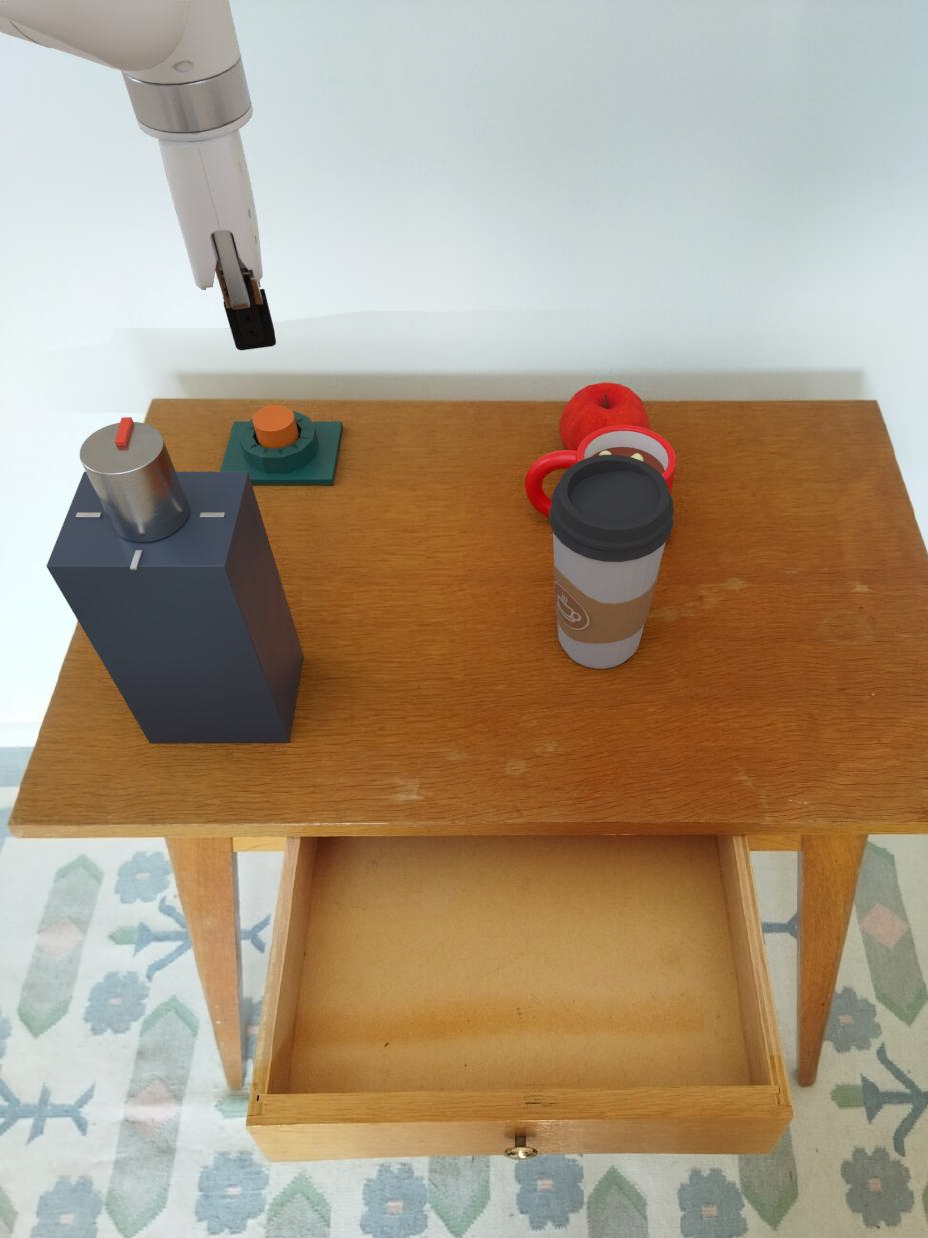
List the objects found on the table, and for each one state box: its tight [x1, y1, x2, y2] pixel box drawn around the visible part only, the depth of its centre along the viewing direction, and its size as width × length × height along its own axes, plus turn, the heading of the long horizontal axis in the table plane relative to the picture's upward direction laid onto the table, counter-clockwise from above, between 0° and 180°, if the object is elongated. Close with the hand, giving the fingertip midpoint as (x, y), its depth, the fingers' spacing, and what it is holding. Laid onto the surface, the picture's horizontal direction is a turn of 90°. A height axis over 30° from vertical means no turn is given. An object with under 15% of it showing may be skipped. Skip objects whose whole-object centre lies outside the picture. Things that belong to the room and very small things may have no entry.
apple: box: [558, 381, 651, 451], centre depth 83 cm, size 8×8×7 cm
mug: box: [524, 425, 677, 518], centre depth 78 cm, size 8×12×8 cm, turn 85°
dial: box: [79, 416, 189, 542], centre depth 53 cm, size 4×4×5 cm
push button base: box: [219, 410, 344, 486], centre depth 85 cm, size 10×8×2 cm
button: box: [252, 404, 299, 448], centre depth 83 cm, size 4×4×2 cm
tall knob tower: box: [46, 471, 305, 744], centre depth 63 cm, size 10×9×18 cm
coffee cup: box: [548, 455, 675, 670], centre depth 68 cm, size 8×8×15 cm
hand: (256, 342), depth 77 cm, fingers closed
